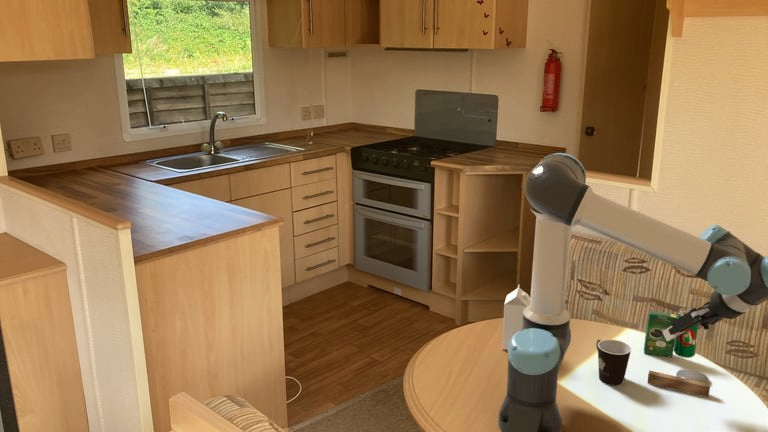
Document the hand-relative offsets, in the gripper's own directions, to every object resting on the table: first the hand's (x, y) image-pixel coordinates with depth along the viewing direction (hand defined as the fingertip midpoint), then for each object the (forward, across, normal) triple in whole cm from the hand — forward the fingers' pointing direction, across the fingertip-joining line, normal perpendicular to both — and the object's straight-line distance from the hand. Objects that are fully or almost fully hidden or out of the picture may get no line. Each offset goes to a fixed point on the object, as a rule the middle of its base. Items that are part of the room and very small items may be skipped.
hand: (674, 334), depth 166 cm
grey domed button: (+14, +11, -10) cm, 20 cm away
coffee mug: (+20, -9, -3) cm, 23 cm away
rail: (+12, +3, -12) cm, 17 cm away
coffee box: (+24, +12, +1) cm, 27 cm away
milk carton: (+38, -25, +15) cm, 47 cm away
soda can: (0, 0, -6) cm, 6 cm away
